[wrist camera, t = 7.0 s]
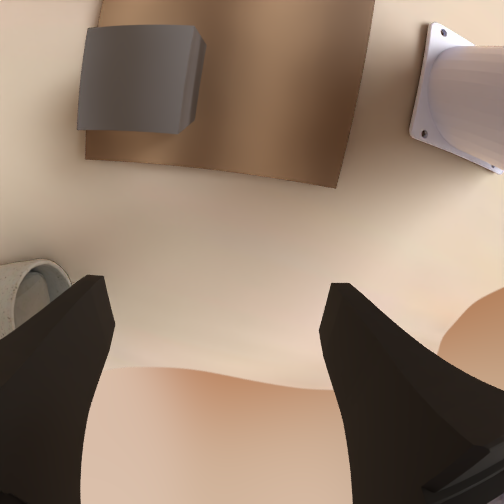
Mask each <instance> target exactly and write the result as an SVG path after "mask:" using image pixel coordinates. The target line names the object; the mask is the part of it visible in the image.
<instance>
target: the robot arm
mask: <svg viewBox="0 0 504 504" xmlns="http://www.w3.org/2000/svg"><path fill="white" fill-rule="evenodd" d="M441 30H442V31H443V34H444V35H443V36H442V34H441ZM423 130H424V131H425V135H424V136H423V137H422V135H421V133H422V131H423ZM409 134H410V136H411V137H412V138H414V139H416V140H419V141H422V142H425V143H427V144H430V145H433V146H435V147H438V148H440V149H443V150H445V151H448V152H450V153H453V154H455V155H457V156H460V157H462V158H465V159H467V160H469V161H471V162H474V163H476V164H478V165H480V166H482V167H484V168H487V169H489V170H491V171H493V172H495V173H497V174H502V173H503V172H504V46H475V45H474V44H472V43H471V42H469V41H468V40H466V39H464V38H463V37H461V36H460V35H458V34H456V33H455V32H453V31H451V30H450V29H448V28H446V27H444V26H443V25H441V24H439V23H437V22H433V23H430V24H429V26H428V32H427V39H426V46H425V53H424V59H423V65H422V70H421V76H420V81H419V86H418V91H417V96H416V101H415V105H414V110H413V114H412V118H411V123H410V127H409ZM491 165H492V166H491ZM114 327H115V321H114V318H113V314H112V310H111V306H110V302H109V298H108V294H107V289H106V285H105V280H104V276H96V275H86V276H85V277H83V278H82V279H80V280H79V281H77V282H76V283H75V284H73V285H72V286H71V287H70V288H68V289H67V290H66V291H64V292H63V293H62V294H61V295H59V296H58V297H57V298H56V299H54V300H53V301H52V302H51V303H49V304H48V305H47V306H46V307H44V308H43V309H42V310H40V311H39V312H38V313H36V314H35V315H34V316H32V317H31V318H30V319H28V320H27V321H26V322H25V323H23V324H22V325H21V326H19V327H18V328H16V329H15V330H14V331H12V332H11V333H9V334H8V335H6V336H5V337H3V338H2V339H0V504H81V501H80V479H81V461H82V451H83V442H84V434H85V429H86V423H87V418H88V413H89V409H90V406H91V402H92V399H93V396H94V393H95V390H96V387H97V384H98V381H99V378H100V376H101V373H102V370H103V367H104V364H105V361H106V359H107V356H108V353H109V350H110V345H111V341H112V337H113V332H114ZM319 334H320V340H321V346H322V351H323V357H324V360H325V363H326V367H327V370H328V373H329V376H330V379H331V383H332V386H333V389H334V392H335V395H336V398H337V402H338V405H339V408H340V412H341V415H342V419H343V423H344V429H345V435H346V440H347V447H348V455H349V462H350V471H351V482H352V495H353V504H504V391H503V390H501V389H498V388H496V387H494V386H491V385H489V384H487V383H485V382H482V381H480V380H478V379H477V378H475V377H472V376H470V375H469V374H467V373H465V372H463V371H462V370H460V369H458V368H456V367H455V366H453V365H451V364H450V363H448V362H446V361H445V360H443V359H442V358H440V357H439V356H437V355H436V354H434V353H433V352H432V351H430V350H429V349H427V348H426V347H424V346H423V345H422V344H420V343H419V342H418V341H416V340H415V339H414V338H413V337H411V336H410V335H409V334H408V333H406V332H405V331H404V330H403V329H402V328H400V327H399V326H398V325H397V324H396V323H394V322H393V321H392V320H391V319H390V318H389V317H387V316H386V315H385V314H384V313H383V312H382V311H381V310H380V309H378V308H377V307H376V306H375V305H374V304H373V303H372V302H371V301H370V300H368V299H367V298H366V297H365V296H364V295H363V294H362V293H361V292H359V291H358V290H357V289H356V288H355V287H353V286H352V285H351V284H350V283H331V286H330V290H329V294H328V298H327V302H326V306H325V310H324V313H323V317H322V321H321V324H320V328H319Z"/></svg>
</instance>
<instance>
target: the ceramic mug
mask: <svg viewBox="0 0 504 504" xmlns="http://www.w3.org/2000/svg"><path fill="white" fill-rule="evenodd" d="M71 286H72V283H71V281H70V279H69V277H68V275H67V274H66V273H65V271H64V270H63V269H62V268H61V267H60V266H59V265H58V264H56V263H55V262H53V261H51V260H46V259H35V260H30V261H23V262H15V263H9V264H4V265H0V339H2V338H3V337H5V336H6V335H8V334H9V333H11V332H12V331H14V330H15V329H16V328H18V327H19V326H21V325H22V324H23V323H25V322H26V321H27V320H28V319H30V318H31V317H32V316H34V315H35V314H36V313H38V312H39V311H40V310H42V309H43V308H44V307H46V306H47V305H48V304H49V303H51V302H52V301H53V300H54V299H56V298H57V297H58V296H59V295H61V294H62V293H63V292H64V291H66V290H67V289H68V288H70V287H71Z"/></svg>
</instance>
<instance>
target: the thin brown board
mask: <svg viewBox="0 0 504 504" xmlns="http://www.w3.org/2000/svg"><path fill="white" fill-rule="evenodd" d="M374 3H375V0H103V3H102V8H101V12H100V17H99V22H98V27H95V28H88V31H87V36H86V42H85V49H84V56H83V63H82V71H81V80H80V91H79V103H78V120H77V130H86V154H85V159H87V160H108V161H125V162H139V163H152V164H164V165H175V166H185V167H194V168H203V169H212V170H220V171H228V172H236V173H243V174H251V175H258V176H264V177H271V178H277V179H284V180H290V181H296V182H302V183H308V184H313V185H319V186H324V187H330V188H335V189H336V186H337V182H338V178H339V174H340V170H341V167H342V163H343V159H344V154H345V150H346V146H347V142H348V138H349V134H350V129H351V125H352V120H353V116H354V111H355V107H356V102H357V98H358V93H359V88H360V83H361V78H362V73H363V68H364V63H365V57H366V52H367V46H368V41H369V35H370V29H371V23H372V16H373V10H374Z"/></svg>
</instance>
